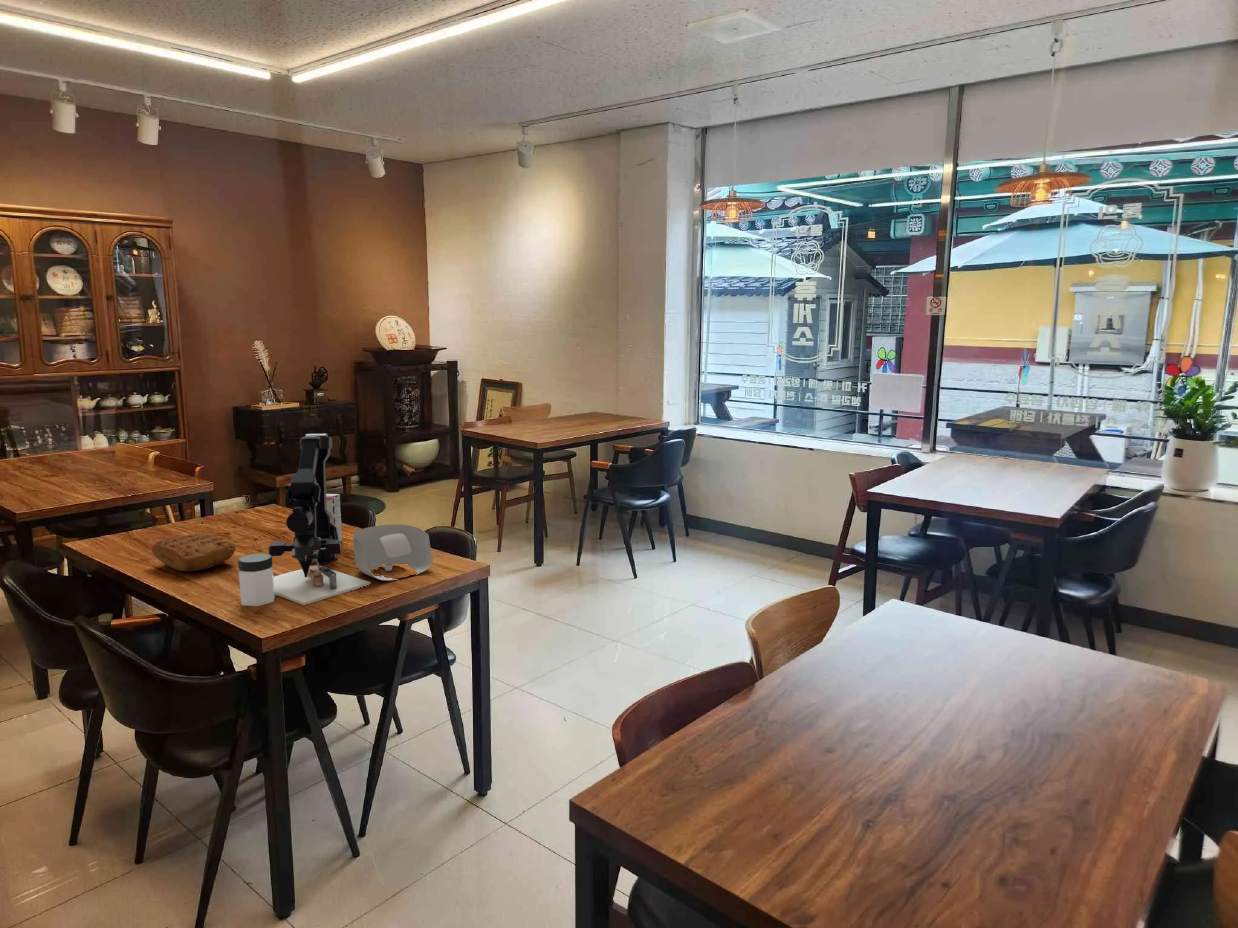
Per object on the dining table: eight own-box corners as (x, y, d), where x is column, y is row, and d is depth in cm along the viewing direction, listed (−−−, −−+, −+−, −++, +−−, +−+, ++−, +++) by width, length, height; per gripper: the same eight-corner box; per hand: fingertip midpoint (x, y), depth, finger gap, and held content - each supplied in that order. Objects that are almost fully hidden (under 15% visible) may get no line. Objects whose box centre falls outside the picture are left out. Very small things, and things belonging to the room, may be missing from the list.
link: (304, 570, 232) (303, 562, 232) (318, 568, 234) (317, 560, 233) (311, 587, 217) (311, 579, 217) (326, 585, 219) (326, 576, 218)
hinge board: (317, 567, 238) (317, 564, 238) (370, 584, 223) (370, 581, 223) (251, 585, 222) (251, 582, 222) (303, 605, 207) (303, 602, 206)
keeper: (315, 569, 233) (314, 556, 233) (342, 587, 218) (341, 573, 217) (304, 571, 231) (303, 558, 231) (330, 590, 216) (329, 575, 215)
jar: (267, 593, 215) (264, 551, 213) (282, 600, 210) (279, 556, 208) (234, 601, 209) (230, 558, 207) (248, 609, 203) (245, 564, 201)
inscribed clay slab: (149, 565, 239) (146, 540, 238) (205, 552, 253) (203, 528, 252) (186, 579, 227) (183, 552, 225) (243, 564, 240) (241, 539, 239)
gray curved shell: (404, 557, 249) (402, 521, 247) (435, 571, 235) (434, 533, 233) (342, 570, 236) (340, 532, 233) (372, 586, 222) (370, 545, 220)
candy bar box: (304, 543, 263) (301, 495, 260) (311, 539, 268) (308, 492, 265) (336, 544, 262) (333, 496, 259) (343, 540, 267) (340, 493, 264)
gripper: (266, 531, 211) (267, 587, 214) (339, 529, 217) (340, 584, 220) (270, 521, 222) (271, 575, 224) (340, 520, 228) (340, 572, 230)
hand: (306, 576), depth 224 cm, fingers closed
